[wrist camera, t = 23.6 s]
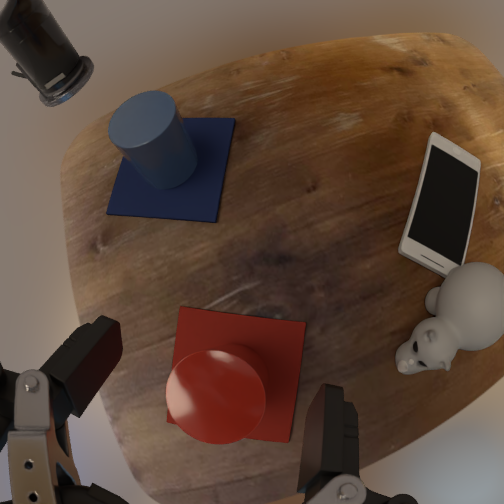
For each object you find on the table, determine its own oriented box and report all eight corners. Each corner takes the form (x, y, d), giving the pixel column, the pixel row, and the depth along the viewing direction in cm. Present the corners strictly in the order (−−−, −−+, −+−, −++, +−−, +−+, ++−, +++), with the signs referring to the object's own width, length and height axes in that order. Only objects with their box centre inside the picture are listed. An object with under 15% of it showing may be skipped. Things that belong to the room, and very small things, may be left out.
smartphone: (477, 163, 28) (481, 159, 27) (454, 283, 25) (459, 282, 24) (429, 134, 29) (432, 130, 28) (396, 252, 26) (400, 249, 25)
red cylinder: (193, 405, 24) (161, 432, 16) (202, 338, 26) (170, 341, 18) (264, 417, 23) (258, 451, 16) (274, 348, 25) (272, 357, 17)
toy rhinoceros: (362, 327, 25) (390, 332, 17) (457, 257, 25) (504, 235, 17) (397, 390, 24) (434, 417, 15) (487, 316, 23) (539, 313, 15)
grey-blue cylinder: (135, 188, 30) (98, 149, 22) (150, 139, 31) (121, 93, 23) (191, 191, 29) (164, 147, 21) (203, 138, 30) (183, 87, 23)
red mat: (167, 421, 24) (166, 422, 24) (181, 306, 27) (179, 306, 26) (288, 441, 23) (288, 443, 23) (305, 322, 26) (306, 322, 25)
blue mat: (107, 214, 30) (105, 213, 29) (137, 122, 32) (136, 120, 32) (216, 223, 28) (215, 221, 28) (235, 120, 31) (234, 118, 31)
